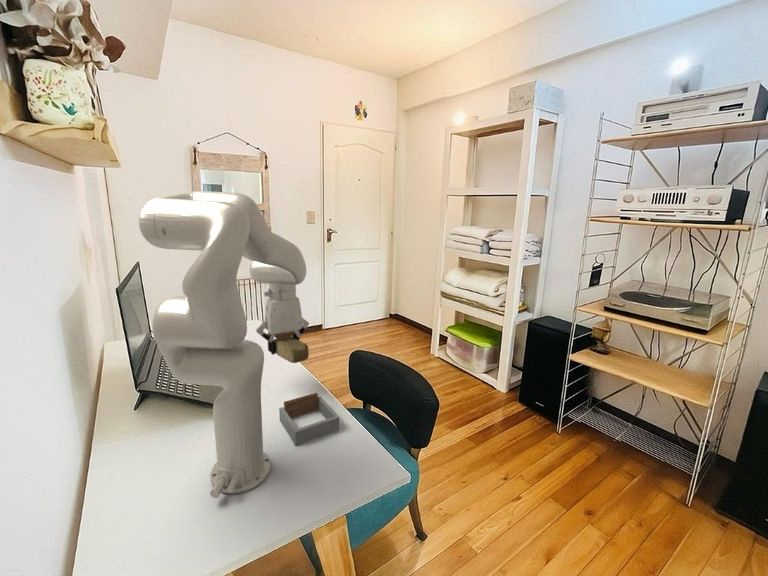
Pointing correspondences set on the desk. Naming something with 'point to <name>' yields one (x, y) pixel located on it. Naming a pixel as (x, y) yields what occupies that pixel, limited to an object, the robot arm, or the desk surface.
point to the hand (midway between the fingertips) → (284, 350)
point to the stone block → (291, 349)
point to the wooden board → (301, 405)
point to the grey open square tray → (313, 429)
